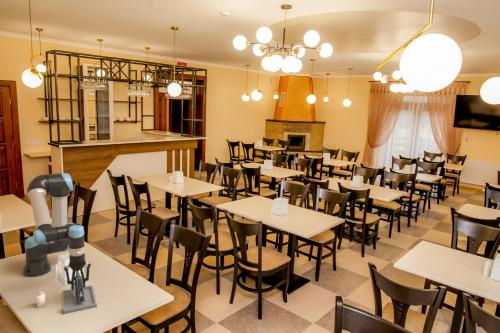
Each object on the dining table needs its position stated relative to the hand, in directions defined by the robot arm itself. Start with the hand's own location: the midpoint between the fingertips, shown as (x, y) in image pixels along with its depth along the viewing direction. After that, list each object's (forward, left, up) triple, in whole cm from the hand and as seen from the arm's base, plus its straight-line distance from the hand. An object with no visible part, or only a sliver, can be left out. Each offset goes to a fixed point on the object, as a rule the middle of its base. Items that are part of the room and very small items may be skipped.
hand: (78, 293), depth 194 cm
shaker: (-2, -18, -4) cm, 19 cm away
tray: (0, 0, -4) cm, 4 cm away
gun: (0, 0, -3) cm, 3 cm away
